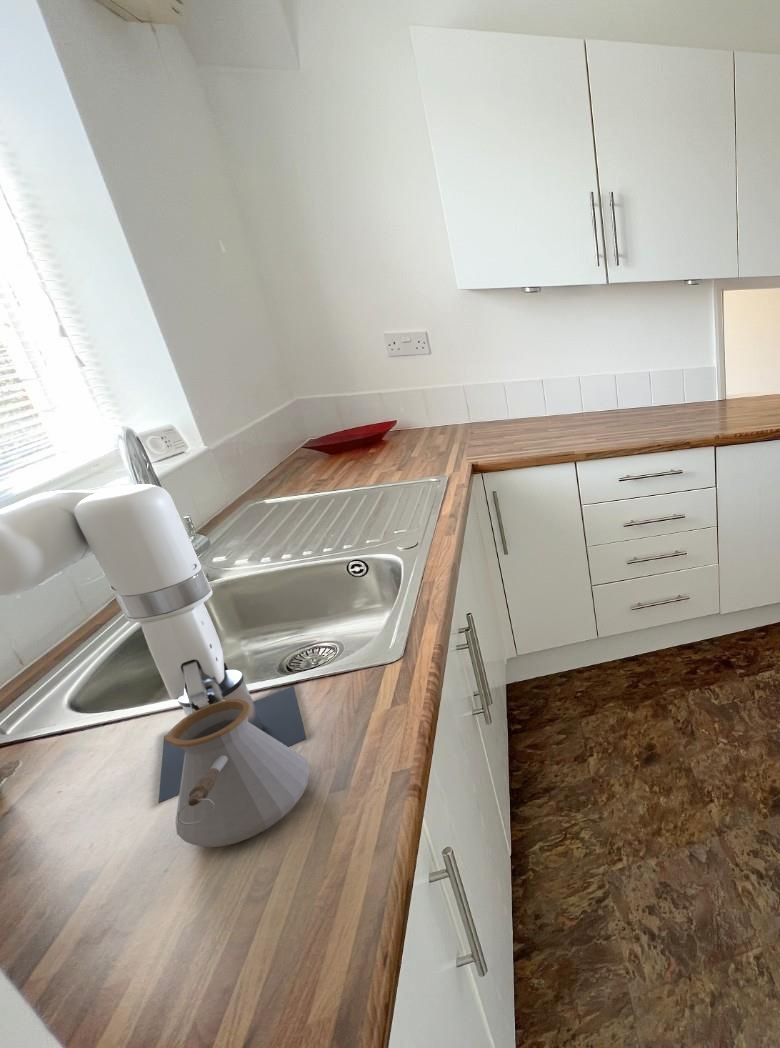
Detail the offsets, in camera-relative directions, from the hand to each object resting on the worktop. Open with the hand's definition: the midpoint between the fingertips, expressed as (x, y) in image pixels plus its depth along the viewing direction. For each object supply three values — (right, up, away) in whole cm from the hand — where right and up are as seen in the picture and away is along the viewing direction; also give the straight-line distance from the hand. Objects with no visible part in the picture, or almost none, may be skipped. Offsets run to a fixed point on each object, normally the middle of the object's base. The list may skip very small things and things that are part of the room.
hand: (222, 713), depth 72 cm
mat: (0, -4, +2) cm, 4 cm away
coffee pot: (+15, -9, -13) cm, 21 cm away
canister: (0, -4, +1) cm, 4 cm away
